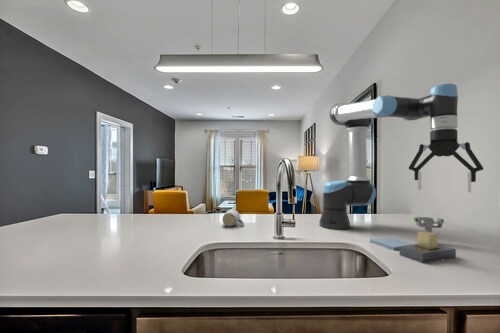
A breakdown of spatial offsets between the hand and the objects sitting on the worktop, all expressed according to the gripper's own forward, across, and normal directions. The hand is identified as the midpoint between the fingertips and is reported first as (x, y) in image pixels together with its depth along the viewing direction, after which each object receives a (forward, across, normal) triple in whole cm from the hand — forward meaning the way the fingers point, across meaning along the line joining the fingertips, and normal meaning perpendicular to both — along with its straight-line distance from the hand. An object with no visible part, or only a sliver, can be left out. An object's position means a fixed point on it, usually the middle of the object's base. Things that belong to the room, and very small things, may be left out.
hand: (443, 190), depth 87 cm
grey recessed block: (+22, -4, -4) cm, 23 cm away
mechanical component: (+22, -5, +17) cm, 29 cm away
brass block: (+22, -4, -4) cm, 23 cm away
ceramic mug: (+22, -84, -15) cm, 89 cm away
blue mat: (+22, -16, +3) cm, 28 cm away
